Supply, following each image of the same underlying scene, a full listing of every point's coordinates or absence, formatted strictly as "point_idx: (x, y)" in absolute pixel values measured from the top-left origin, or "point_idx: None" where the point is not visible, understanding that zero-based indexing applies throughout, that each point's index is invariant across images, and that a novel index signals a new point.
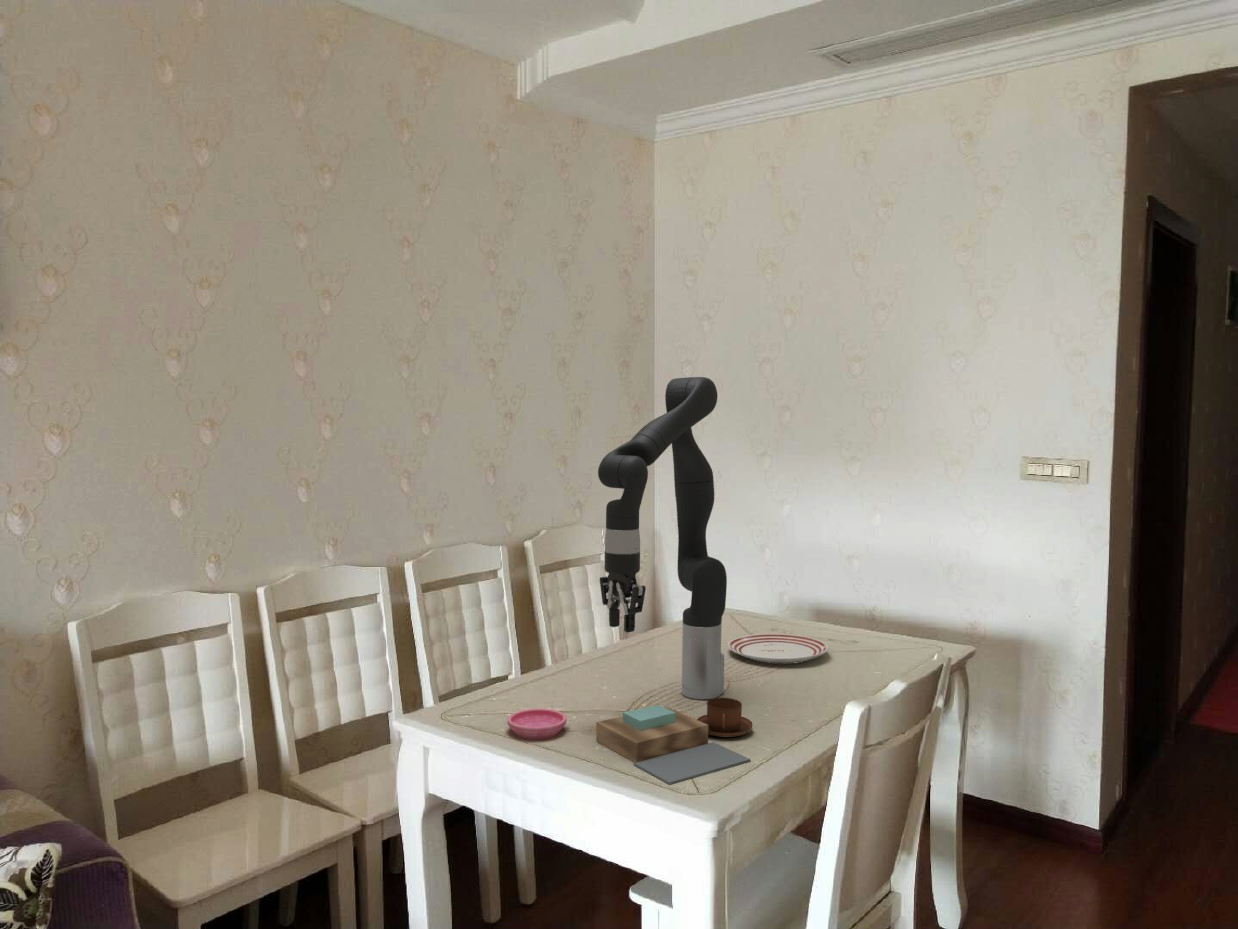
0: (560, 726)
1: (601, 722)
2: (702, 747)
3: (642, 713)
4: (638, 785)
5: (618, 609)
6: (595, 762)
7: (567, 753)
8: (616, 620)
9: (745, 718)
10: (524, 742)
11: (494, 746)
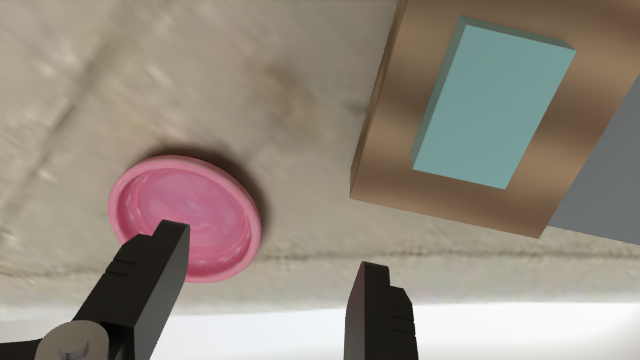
0: (259, 217)
1: (362, 192)
2: None
3: (472, 136)
4: (587, 278)
5: (133, 336)
6: (436, 251)
7: (352, 252)
8: (174, 275)
9: None
10: None
11: (216, 304)
